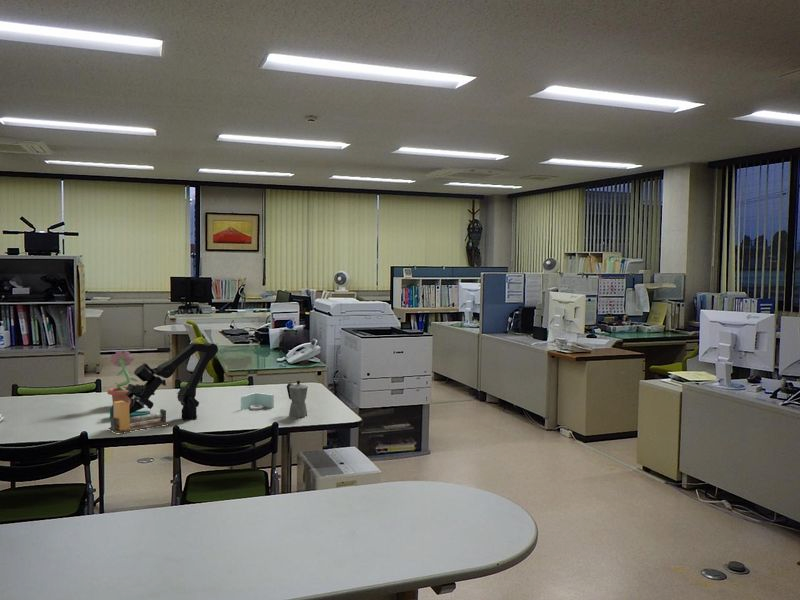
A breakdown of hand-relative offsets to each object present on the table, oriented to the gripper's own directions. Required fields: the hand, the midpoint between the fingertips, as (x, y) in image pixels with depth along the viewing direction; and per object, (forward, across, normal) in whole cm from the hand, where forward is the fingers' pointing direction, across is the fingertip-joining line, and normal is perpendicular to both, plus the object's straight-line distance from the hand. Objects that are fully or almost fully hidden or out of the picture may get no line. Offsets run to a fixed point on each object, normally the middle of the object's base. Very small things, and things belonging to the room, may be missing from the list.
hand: (126, 414), depth 288 cm
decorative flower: (-6, -44, +16) cm, 47 cm away
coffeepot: (-47, +30, +57) cm, 80 cm away
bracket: (-2, -20, +12) cm, 24 cm away
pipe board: (+1, 0, +9) cm, 9 cm away
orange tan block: (+6, 0, +2) cm, 6 cm away
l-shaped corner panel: (-41, +5, +52) cm, 67 cm away
